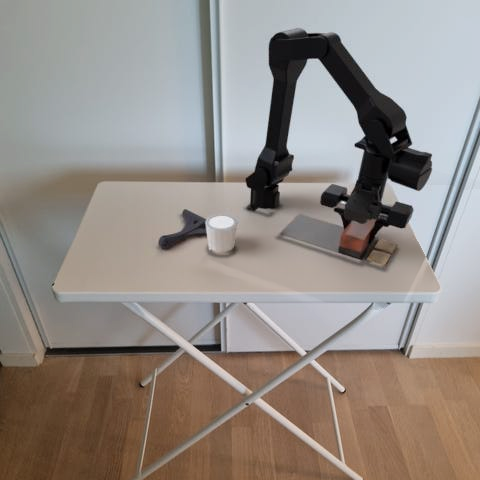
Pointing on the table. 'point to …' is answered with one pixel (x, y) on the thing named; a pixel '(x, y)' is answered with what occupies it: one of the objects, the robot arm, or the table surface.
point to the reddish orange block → (356, 238)
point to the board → (318, 233)
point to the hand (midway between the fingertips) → (357, 239)
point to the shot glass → (221, 232)
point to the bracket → (185, 229)
